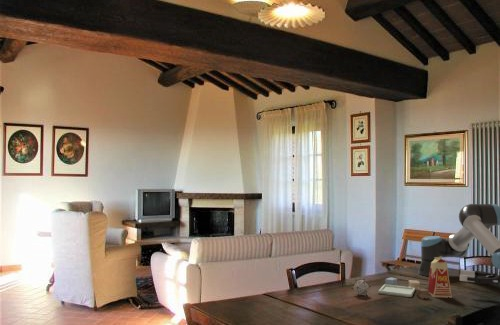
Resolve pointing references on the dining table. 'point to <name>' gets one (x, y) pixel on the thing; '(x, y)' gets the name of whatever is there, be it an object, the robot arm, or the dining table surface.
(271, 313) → the dining table surface
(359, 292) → the game die
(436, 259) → the milk carton
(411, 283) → the maple brick
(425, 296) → the walnut brick
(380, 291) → the tray
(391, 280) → the slate-blue brick
